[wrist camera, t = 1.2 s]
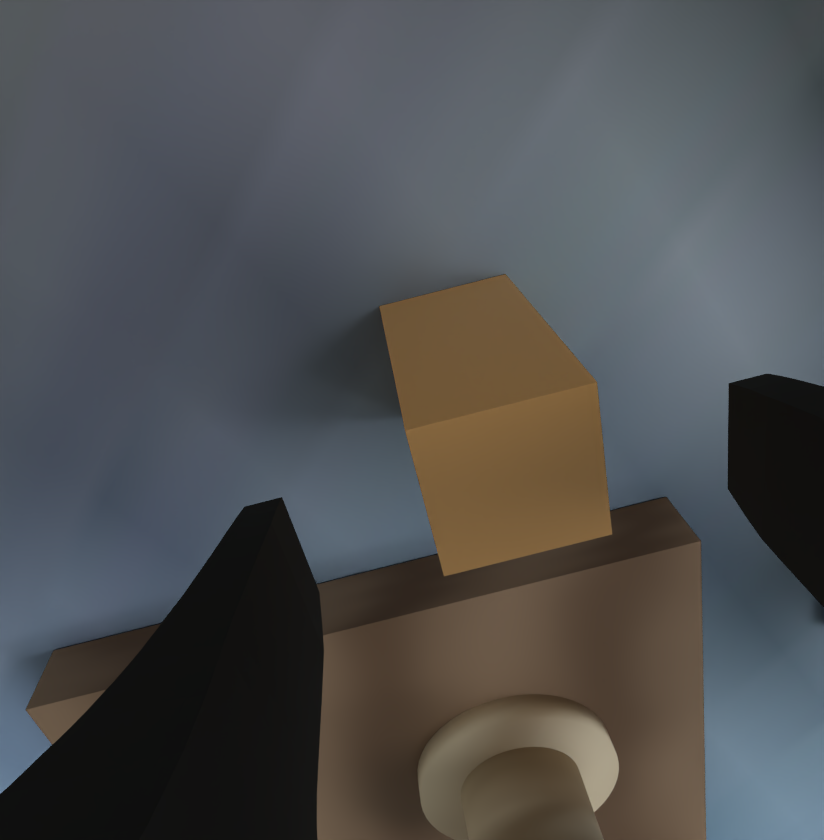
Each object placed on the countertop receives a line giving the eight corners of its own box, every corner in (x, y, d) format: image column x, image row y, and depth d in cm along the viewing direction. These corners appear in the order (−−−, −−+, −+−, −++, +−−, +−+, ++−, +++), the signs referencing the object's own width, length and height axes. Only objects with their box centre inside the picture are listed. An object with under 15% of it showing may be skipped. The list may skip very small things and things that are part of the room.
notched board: (666, 497, 19) (700, 540, 17) (684, 870, 28) (707, 922, 27) (53, 650, 19) (25, 709, 17) (275, 969, 29) (272, 1028, 27)
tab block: (505, 274, 15) (596, 382, 10) (523, 387, 17) (612, 534, 12) (379, 306, 15) (405, 430, 10) (408, 417, 17) (443, 576, 12)
